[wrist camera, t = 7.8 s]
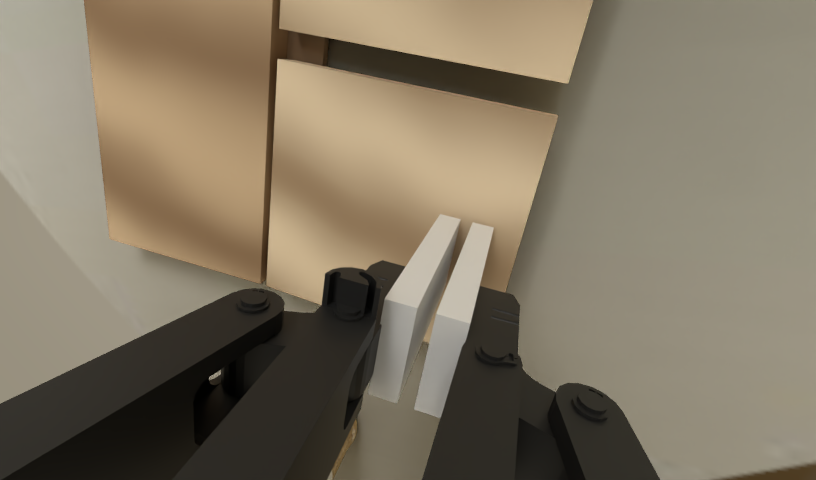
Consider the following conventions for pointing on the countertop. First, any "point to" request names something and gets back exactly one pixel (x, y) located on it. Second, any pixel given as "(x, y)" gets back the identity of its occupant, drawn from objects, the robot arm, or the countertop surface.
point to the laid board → (191, 124)
